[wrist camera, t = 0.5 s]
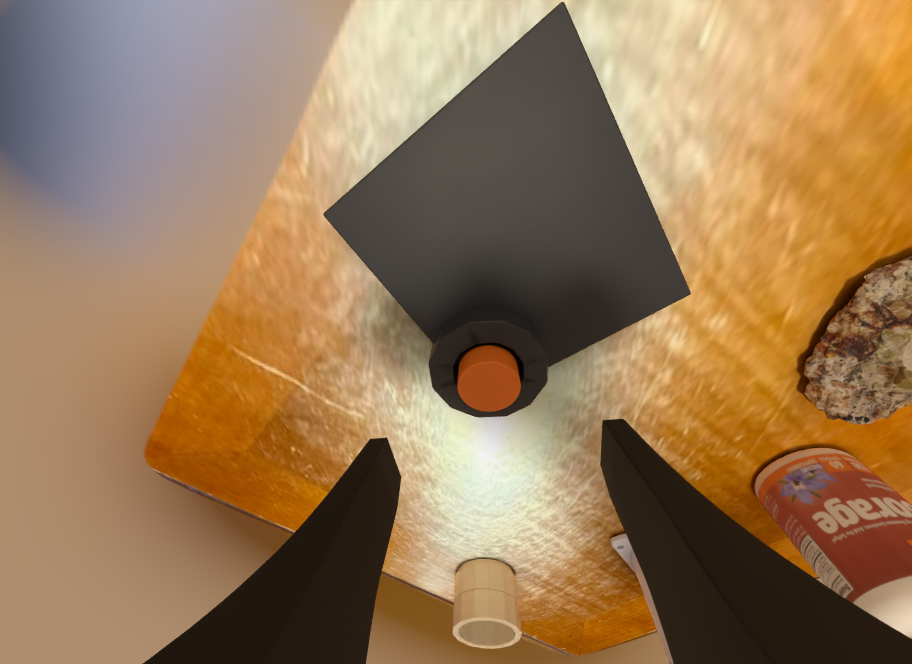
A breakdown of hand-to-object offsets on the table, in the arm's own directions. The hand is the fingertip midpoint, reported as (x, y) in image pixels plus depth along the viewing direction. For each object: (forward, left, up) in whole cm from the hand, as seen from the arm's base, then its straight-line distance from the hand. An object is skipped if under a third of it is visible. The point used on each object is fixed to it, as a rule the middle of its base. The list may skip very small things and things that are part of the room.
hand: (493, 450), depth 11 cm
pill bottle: (-22, -11, -9) cm, 26 cm away
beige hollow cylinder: (-22, +15, -9) cm, 28 cm away
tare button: (-1, +1, -6) cm, 6 cm away
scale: (+3, -3, -9) cm, 10 cm away
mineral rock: (-12, -17, -9) cm, 23 cm away
